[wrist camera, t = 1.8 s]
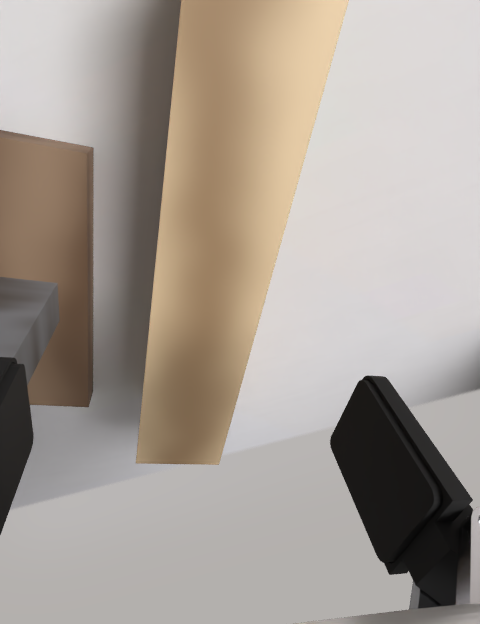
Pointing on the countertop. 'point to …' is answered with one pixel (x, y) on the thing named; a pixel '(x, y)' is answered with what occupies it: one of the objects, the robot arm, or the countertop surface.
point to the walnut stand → (47, 266)
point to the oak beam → (226, 205)
